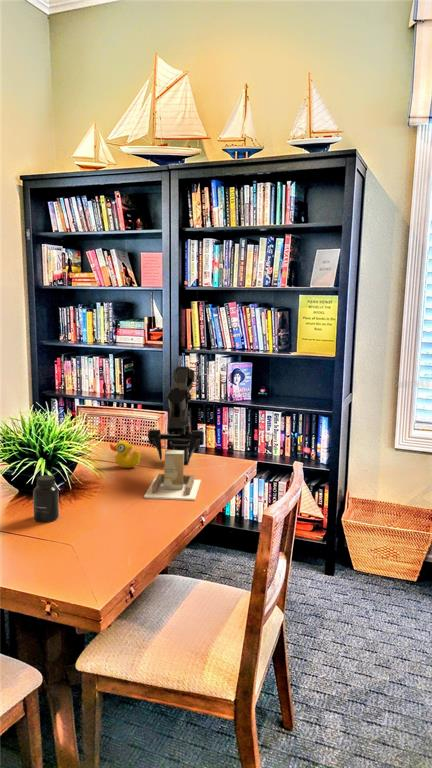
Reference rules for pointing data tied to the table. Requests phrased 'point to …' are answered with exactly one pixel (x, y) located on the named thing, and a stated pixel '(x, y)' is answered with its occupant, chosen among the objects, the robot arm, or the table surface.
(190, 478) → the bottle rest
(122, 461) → the duckling
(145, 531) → the table surface
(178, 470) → the skincare box
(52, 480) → the supplement bottle
